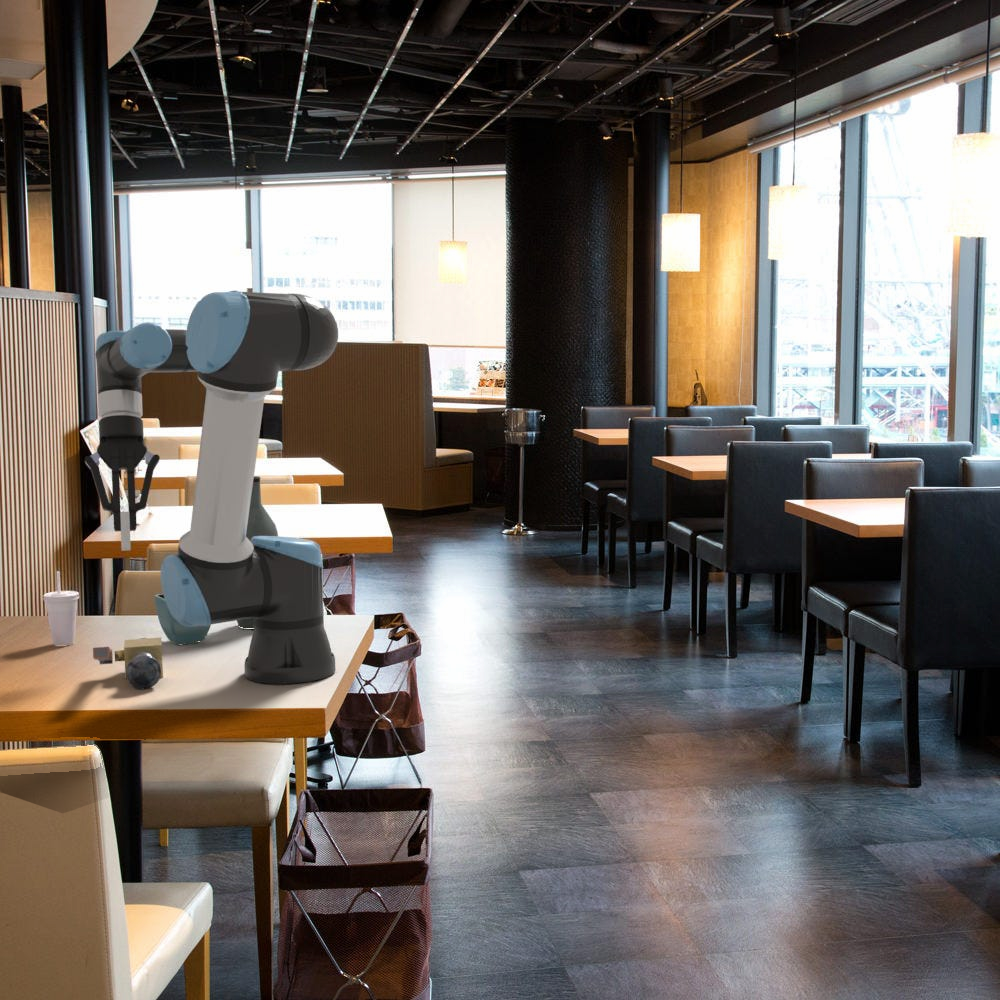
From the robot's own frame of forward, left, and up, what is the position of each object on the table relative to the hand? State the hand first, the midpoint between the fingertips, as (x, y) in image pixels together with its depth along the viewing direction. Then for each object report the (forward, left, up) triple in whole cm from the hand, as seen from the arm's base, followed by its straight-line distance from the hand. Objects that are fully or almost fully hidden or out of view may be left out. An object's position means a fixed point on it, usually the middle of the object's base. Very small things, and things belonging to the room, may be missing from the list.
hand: (126, 549), depth 210 cm
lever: (-5, +9, -17) cm, 20 cm away
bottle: (+3, -33, -20) cm, 39 cm away
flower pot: (+4, -16, -20) cm, 26 cm away
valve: (-12, +6, -20) cm, 24 cm away
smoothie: (+22, -2, -20) cm, 30 cm away
